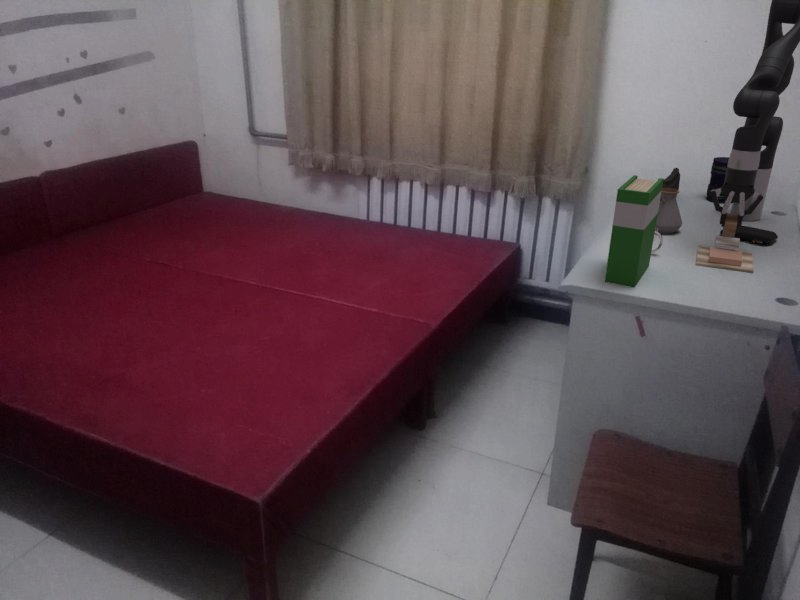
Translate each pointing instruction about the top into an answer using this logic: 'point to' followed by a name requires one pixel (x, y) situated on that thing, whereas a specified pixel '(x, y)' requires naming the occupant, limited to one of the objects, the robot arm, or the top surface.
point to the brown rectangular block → (729, 232)
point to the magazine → (672, 180)
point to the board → (704, 261)
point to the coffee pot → (668, 212)
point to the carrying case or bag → (754, 235)
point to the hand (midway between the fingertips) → (729, 226)
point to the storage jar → (717, 177)
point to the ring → (660, 241)
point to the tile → (725, 256)
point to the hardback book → (633, 230)
